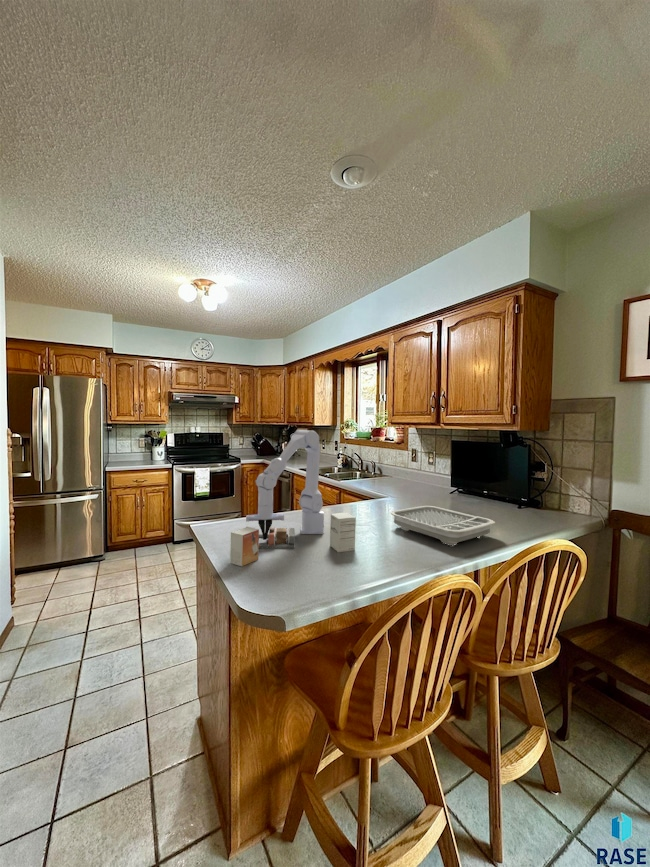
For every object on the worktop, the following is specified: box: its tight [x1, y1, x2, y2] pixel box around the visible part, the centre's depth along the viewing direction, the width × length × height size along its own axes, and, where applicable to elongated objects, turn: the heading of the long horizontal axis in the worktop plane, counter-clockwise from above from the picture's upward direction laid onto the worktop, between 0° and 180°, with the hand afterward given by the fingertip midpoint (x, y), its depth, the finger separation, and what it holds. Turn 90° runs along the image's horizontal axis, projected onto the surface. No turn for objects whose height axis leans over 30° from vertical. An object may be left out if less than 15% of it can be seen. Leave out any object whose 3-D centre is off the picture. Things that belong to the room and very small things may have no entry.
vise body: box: [258, 527, 296, 550], centre depth 137 cm, size 17×13×4 cm
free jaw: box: [267, 527, 277, 545], centre depth 137 cm, size 2×10×5 cm, turn 6°
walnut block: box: [275, 527, 288, 545], centre depth 138 cm, size 4×4×5 cm
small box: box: [229, 526, 260, 567], centre depth 118 cm, size 8×6×10 cm
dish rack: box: [390, 505, 496, 545], centre depth 154 cm, size 32×37×8 cm
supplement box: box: [329, 512, 357, 553], centre depth 133 cm, size 7×7×13 cm
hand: (264, 538), depth 137 cm, fingers closed
